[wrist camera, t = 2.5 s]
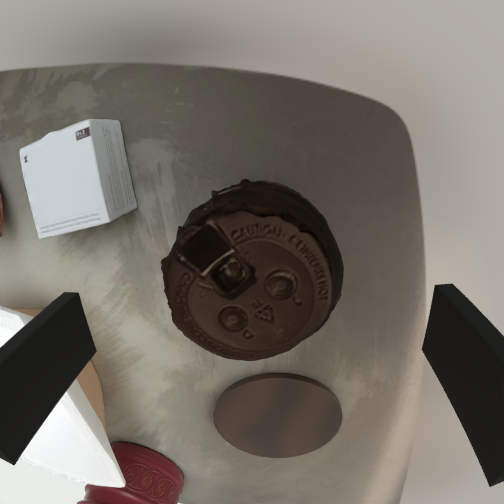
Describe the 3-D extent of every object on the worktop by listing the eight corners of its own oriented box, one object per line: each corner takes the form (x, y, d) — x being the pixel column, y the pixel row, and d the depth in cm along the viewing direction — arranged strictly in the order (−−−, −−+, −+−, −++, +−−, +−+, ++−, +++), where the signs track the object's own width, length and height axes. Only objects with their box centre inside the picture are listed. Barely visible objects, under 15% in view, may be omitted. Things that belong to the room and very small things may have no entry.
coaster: (348, 369, 29) (349, 375, 29) (334, 451, 34) (335, 455, 33) (206, 371, 31) (204, 376, 30) (222, 451, 35) (221, 456, 35)
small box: (70, 224, 27) (37, 241, 22) (53, 143, 25) (16, 148, 20) (140, 208, 26) (111, 224, 21) (122, 117, 23) (89, 115, 19)
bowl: (38, 412, 38) (6, 455, 28) (-32, 270, 31) (-85, 303, 21) (166, 432, 35) (141, 498, 25) (90, 245, 27) (17, 295, 17)
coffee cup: (208, 164, 24) (137, 190, 12) (318, 162, 23) (357, 184, 11) (215, 271, 27) (167, 371, 15) (317, 270, 26) (340, 376, 14)
